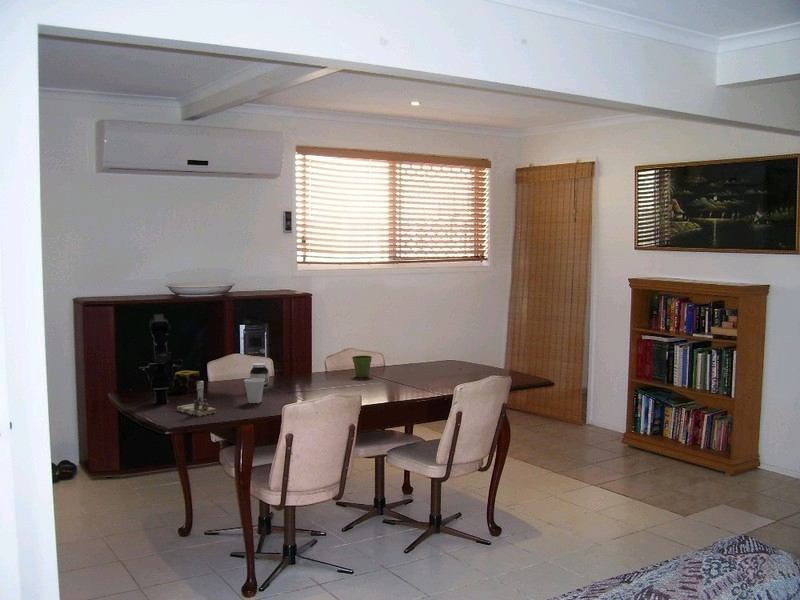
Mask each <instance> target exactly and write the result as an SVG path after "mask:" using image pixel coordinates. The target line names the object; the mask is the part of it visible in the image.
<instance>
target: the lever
mask: <svg viewBox="0 0 800 600" xmlns="http://www.w3.org/2000/svg"><path fill="white" fill-rule="evenodd" d="M204 383H205V382H204V380H199V381H197V391H196V392H197V401H199V406H202V405H203V404H204V401H203V399H204Z"/></svg>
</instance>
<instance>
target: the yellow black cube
mask: <svg viewBox="0 0 800 600" xmlns="http://www.w3.org/2000/svg"><path fill="white" fill-rule="evenodd" d="M197 381H200V371H198V370H196V371H195V370H180V371H176V373H175V376H174V379H173V382H172V392H173V393H178V392H182V393H181V394H191V393H190V392H192V393H194V391H195V392H198V391H197Z"/></svg>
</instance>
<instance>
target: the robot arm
mask: <svg viewBox="0 0 800 600" xmlns="http://www.w3.org/2000/svg"><path fill="white" fill-rule="evenodd" d="M152 316H153V317H152V318H151V319H150V320H149V332H150V334H151V337H152V338H153V352H154V353H153V354H154V355H153V360H154V361H149V360H140V361H139V363H138V365H139V366H138V367H139V368H138V369H142V371H145V373H146V375H147V378H148V381H149V383H150V384H151V392H154V401H153V402H152V404H153V405H167V404H168V403H169V402H170V400H168V391H169V392H170V391H172V383H173V379H174V376H175V373H176V372H177V370H178V369H180V367H182V366H184V364H183V363H184V362H183V358H177V359H175V358H174V359H173V360H172V352H171V351H168V337H167V335H170V334H171V325H170V324H169V319H167V318H166V317H165V314H164V313H154V314H153V315H152ZM171 360H172V361H171ZM165 366H172V372H171V378H170V377H169V374H168V372H167V370H166V369H165V368H166V367H165ZM150 367H155V371H154V373H153V375H152V376H151V370H150Z"/></svg>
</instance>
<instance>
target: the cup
mask: <svg viewBox="0 0 800 600" xmlns="http://www.w3.org/2000/svg"><path fill="white" fill-rule="evenodd" d="M243 381H244V385H245V390H246V396H247V403H249V404H251V403H257V404H260V402H261V403H262V400H263V393H264V387H265V386H264V381H265V379H261V378H251V379H250V378H246V379H244V380H243Z"/></svg>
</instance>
